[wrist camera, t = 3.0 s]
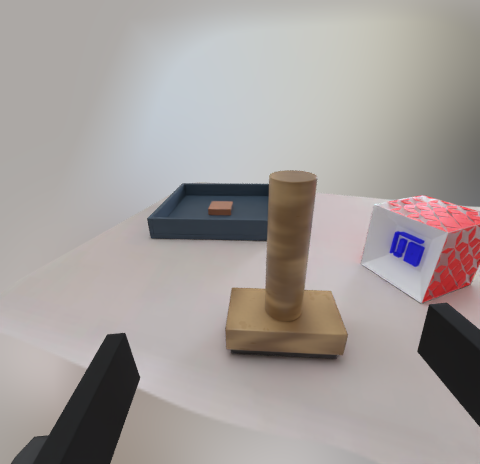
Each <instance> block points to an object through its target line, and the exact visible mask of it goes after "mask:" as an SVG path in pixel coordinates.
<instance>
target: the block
mask: <svg viewBox="0 0 480 464" xmlns="http://www.w3.org/2000/svg"><path fill="white" fill-rule="evenodd" d="M232 209H233V202H229V201H212V202H211V204H210V206H209V208H208V215H231V213H232Z"/></svg>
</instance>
